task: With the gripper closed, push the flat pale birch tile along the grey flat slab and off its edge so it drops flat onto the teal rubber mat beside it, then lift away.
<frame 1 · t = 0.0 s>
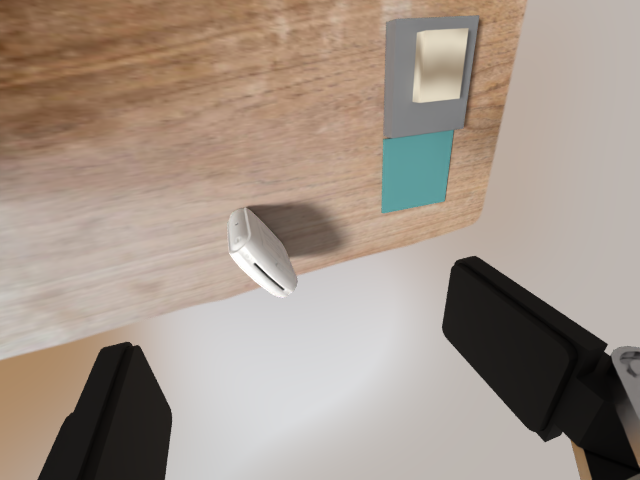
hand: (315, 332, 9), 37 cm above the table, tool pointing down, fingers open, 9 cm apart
birch tile: (434, 67, 41), point 2 cm above the table, touching grey flat slab
teal mat: (415, 172, 51), on the table
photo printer: (256, 233, 47), on the table
grey flat slab: (422, 79, 44), on the table
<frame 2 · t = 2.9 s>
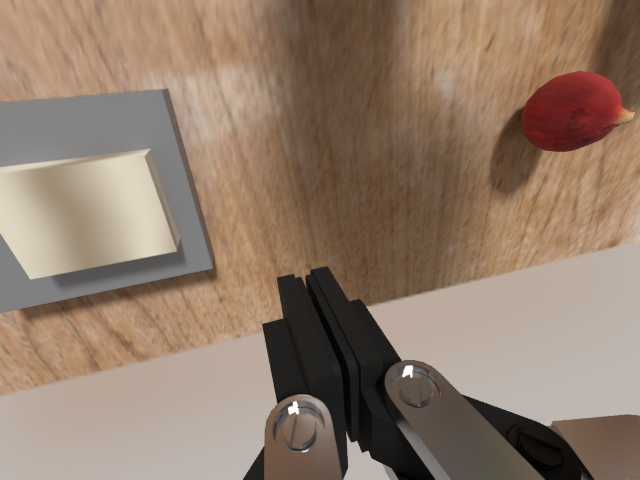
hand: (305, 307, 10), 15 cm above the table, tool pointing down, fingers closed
birch tile: (97, 207, 19), point 2 cm above the table, touching grey flat slab
onion: (525, 109, 28), on the table
grey flat slab: (84, 197, 21), on the table
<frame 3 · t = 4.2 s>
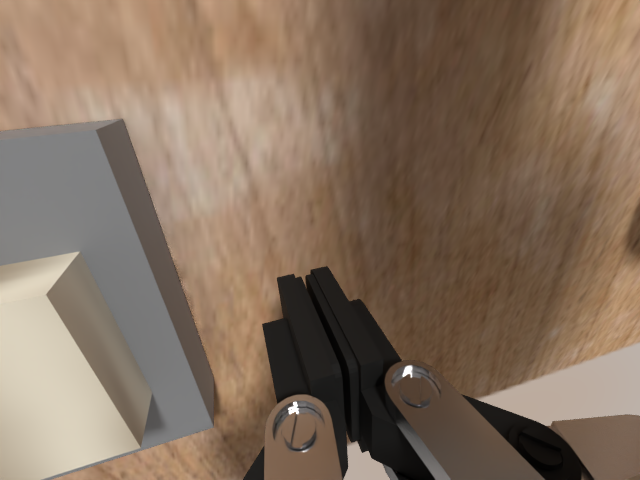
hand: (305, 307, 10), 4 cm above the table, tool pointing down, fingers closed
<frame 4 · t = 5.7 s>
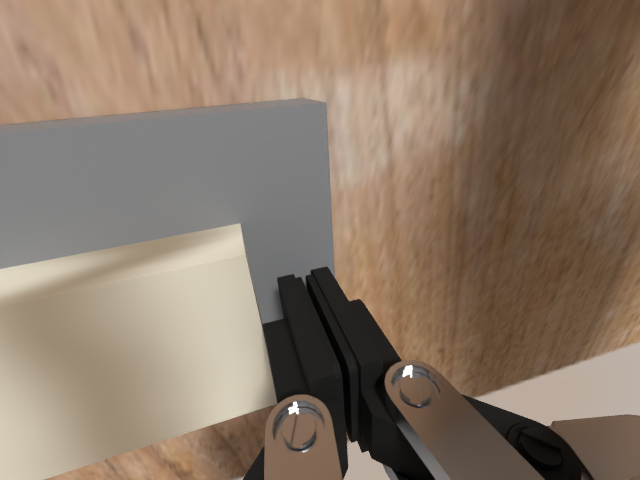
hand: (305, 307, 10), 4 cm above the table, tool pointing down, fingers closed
birch tile: (134, 330, 10), point 3 cm above the table, touching gripper
grey flat slab: (143, 282, 12), on the table
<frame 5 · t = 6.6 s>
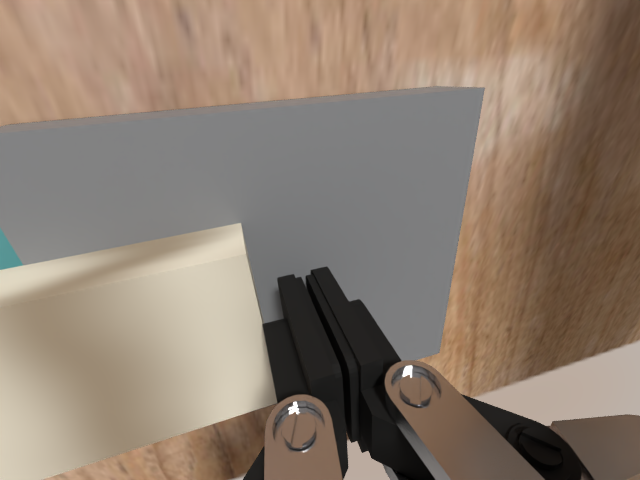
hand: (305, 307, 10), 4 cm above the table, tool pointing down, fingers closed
birch tile: (136, 329, 10), point 2 cm above the table, touching grey flat slab, gripper
grey flat slab: (278, 254, 13), on the table
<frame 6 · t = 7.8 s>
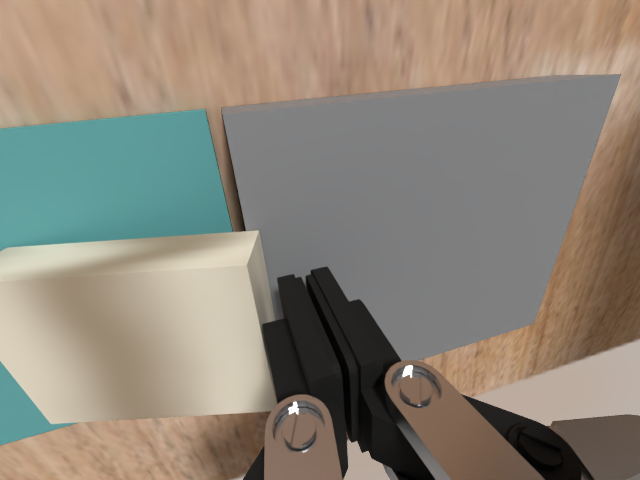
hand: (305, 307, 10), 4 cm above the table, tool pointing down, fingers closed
birch tile: (161, 312, 11), point 2 cm above the table, tilted 16°
teal mat: (77, 298, 12), on the table
grey flat slab: (401, 230, 15), on the table
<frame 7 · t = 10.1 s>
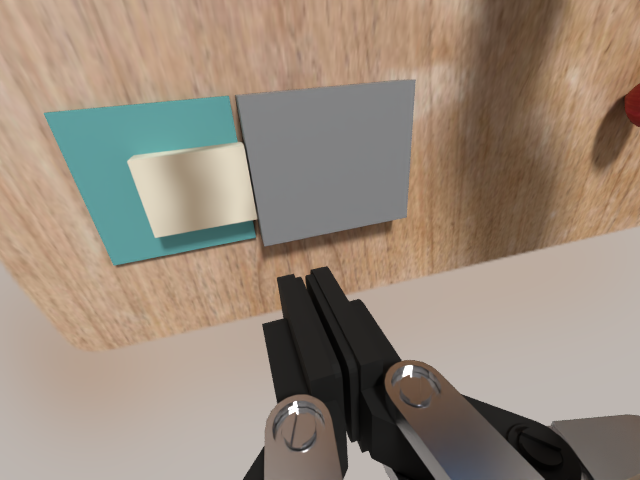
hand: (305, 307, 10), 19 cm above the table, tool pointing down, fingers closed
birch tile: (199, 185, 25), resting on teal mat
onion: (623, 98, 35), on the table
teal mat: (168, 184, 25), on the table
grey flat slab: (326, 160, 28), on the table
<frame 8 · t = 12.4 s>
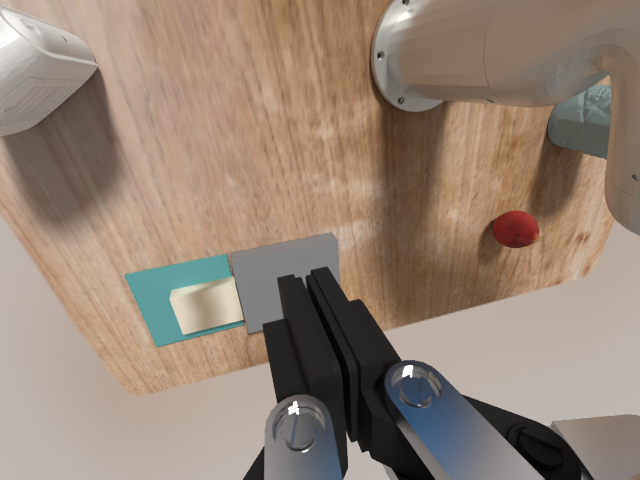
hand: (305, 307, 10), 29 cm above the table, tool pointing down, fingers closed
blue ceramic planter: (569, 118, 47), on the table
birch tile: (209, 300, 42), resting on teal mat
onion: (495, 219, 52), on the table
teal mat: (190, 301, 42), on the table
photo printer: (46, 80, 28), on the table
grey flat slab: (288, 278, 45), on the table
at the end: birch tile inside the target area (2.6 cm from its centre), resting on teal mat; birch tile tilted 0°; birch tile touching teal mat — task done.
